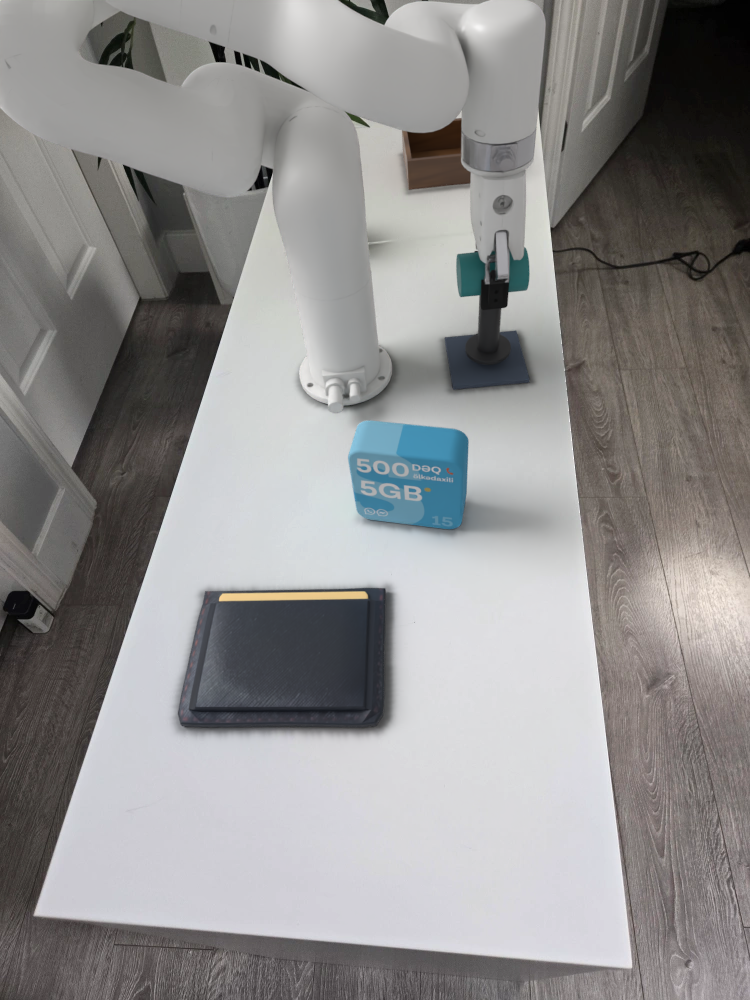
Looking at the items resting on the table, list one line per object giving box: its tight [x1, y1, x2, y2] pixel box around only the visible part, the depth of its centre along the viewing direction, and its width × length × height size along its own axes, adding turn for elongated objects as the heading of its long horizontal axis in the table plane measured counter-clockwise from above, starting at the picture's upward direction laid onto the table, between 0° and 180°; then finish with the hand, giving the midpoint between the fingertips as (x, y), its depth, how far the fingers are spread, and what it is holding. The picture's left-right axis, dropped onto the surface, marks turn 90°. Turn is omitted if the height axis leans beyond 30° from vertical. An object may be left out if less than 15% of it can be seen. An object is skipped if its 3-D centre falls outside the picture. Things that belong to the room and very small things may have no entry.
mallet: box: [455, 246, 531, 365], centre depth 89 cm, size 6×8×14 cm
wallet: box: [177, 587, 387, 729], centre depth 71 cm, size 20×2×15 cm
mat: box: [444, 329, 531, 391], centre depth 96 cm, size 10×10×1 cm
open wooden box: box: [401, 117, 471, 191], centre depth 126 cm, size 14×14×6 cm
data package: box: [347, 419, 469, 530], centre depth 77 cm, size 12×4×12 cm, turn 78°
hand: (490, 291), depth 87 cm, fingers closed on mallet, 5 cm apart
